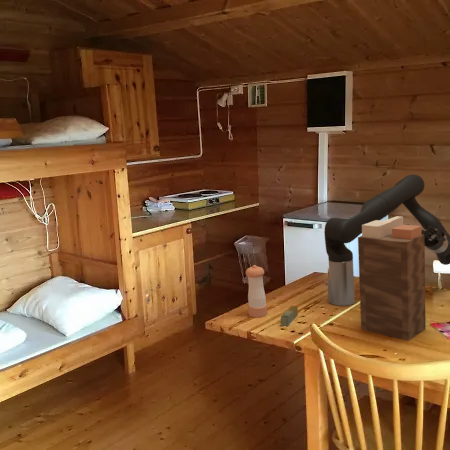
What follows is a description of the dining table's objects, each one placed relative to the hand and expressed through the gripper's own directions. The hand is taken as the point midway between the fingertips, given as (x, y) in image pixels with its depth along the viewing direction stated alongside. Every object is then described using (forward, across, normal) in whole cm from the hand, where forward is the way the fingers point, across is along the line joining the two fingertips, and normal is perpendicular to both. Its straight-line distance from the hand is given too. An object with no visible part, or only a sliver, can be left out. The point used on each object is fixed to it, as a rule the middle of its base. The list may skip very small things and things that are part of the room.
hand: (417, 227), depth 200 cm
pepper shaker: (+22, -44, +46) cm, 67 cm away
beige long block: (+22, 0, +9) cm, 24 cm away
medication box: (+21, -30, +46) cm, 58 cm away
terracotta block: (+25, +9, +11) cm, 29 cm away
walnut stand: (+10, +4, +39) cm, 41 cm away
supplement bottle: (-18, -40, +24) cm, 49 cm away
